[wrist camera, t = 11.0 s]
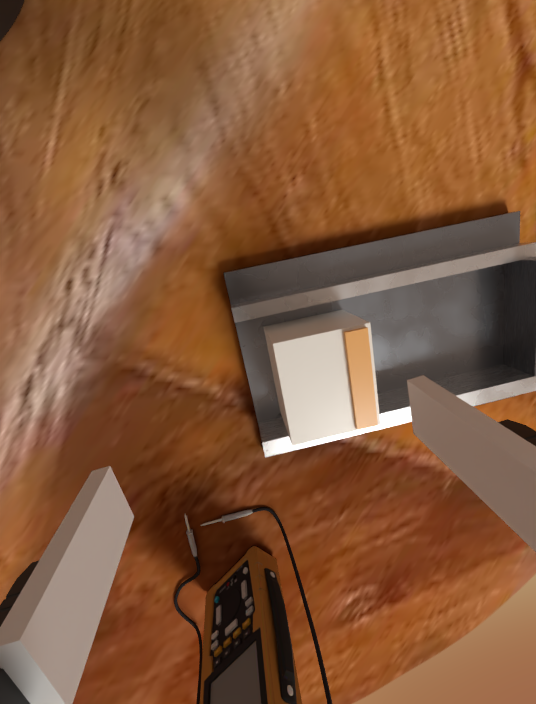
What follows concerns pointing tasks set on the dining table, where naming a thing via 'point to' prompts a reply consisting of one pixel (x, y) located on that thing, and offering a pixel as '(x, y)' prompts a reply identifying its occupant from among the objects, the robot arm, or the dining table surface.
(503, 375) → the rail base
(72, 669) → the robot arm
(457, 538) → the dining table surface
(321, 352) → the block
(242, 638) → the multimeter
